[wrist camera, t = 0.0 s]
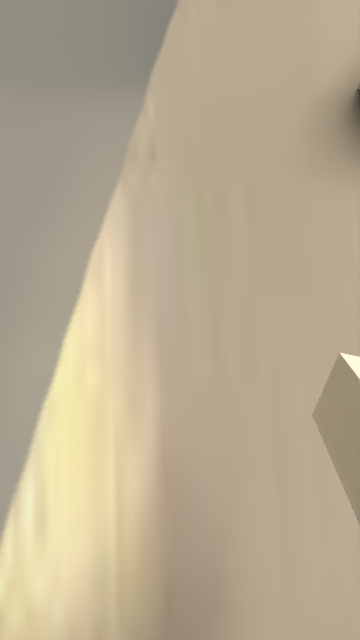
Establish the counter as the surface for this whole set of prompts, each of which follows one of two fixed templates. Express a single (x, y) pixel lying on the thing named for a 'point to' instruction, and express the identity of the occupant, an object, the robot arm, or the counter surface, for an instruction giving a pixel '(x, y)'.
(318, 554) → the counter surface
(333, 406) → the robot arm
